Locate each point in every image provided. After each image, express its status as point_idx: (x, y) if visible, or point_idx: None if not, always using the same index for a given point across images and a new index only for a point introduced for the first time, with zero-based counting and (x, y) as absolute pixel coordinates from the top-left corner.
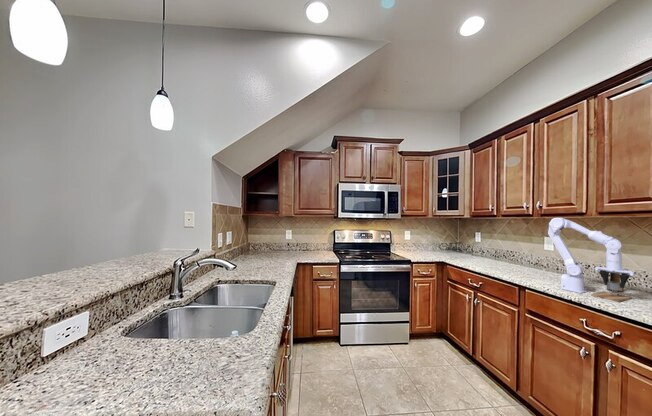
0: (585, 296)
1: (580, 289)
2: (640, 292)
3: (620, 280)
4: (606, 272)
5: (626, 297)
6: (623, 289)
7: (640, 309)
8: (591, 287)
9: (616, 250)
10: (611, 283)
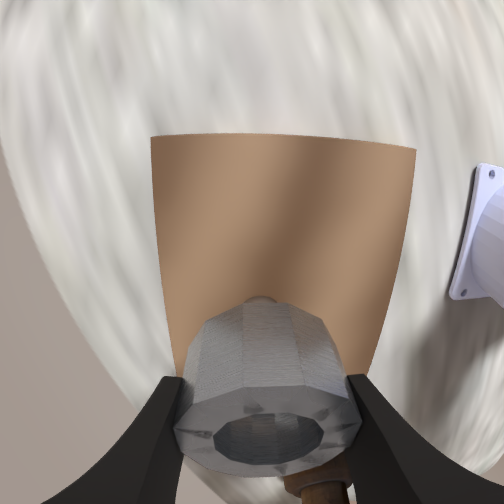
0: (419, 64)
1: (499, 211)
2: (241, 498)
3: (145, 472)
4: None
5: (182, 340)
6: (284, 482)
7: (9, 65)
8: (421, 426)
9: None
10: (278, 377)
